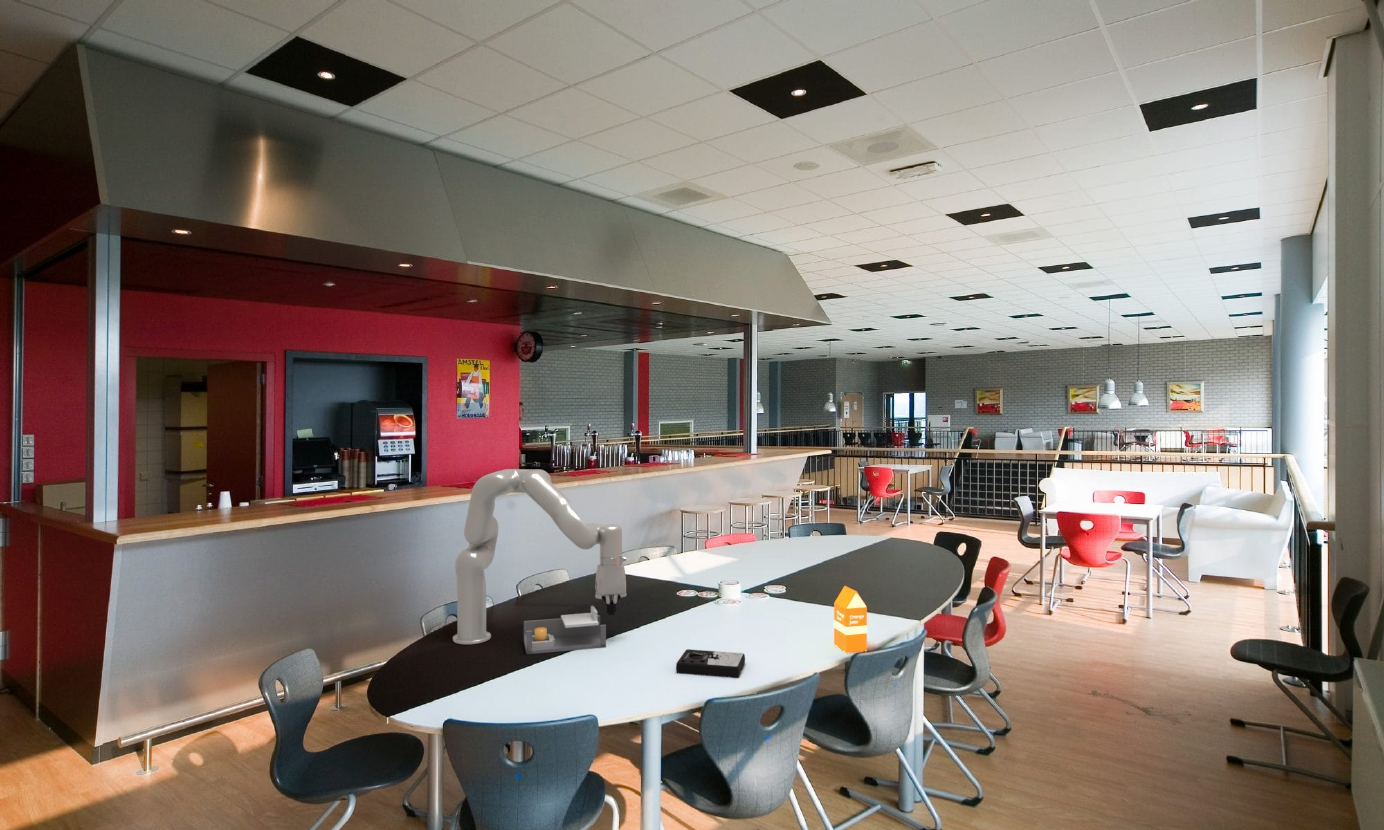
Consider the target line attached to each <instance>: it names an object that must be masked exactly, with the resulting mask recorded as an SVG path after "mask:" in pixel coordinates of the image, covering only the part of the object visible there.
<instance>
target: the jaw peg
mask: <svg viewBox="0 0 1384 830" xmlns="http://www.w3.org/2000/svg"><path fill="white" fill-rule="evenodd" d="M537 641H547V628H545V627H539V628H535V642H537Z"/></svg>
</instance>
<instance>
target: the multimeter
mask: <svg viewBox="0 0 1384 830" xmlns="http://www.w3.org/2000/svg"><path fill="white" fill-rule="evenodd" d="M745 663H746V655H745V653H743V652H733V651H731V652H730V651H716V650H714V651H713V650H701V649H685V650H684V652H683V653H682V655H681V656H680V658H679V659H678V660H677V661H676V663H675V664H676V665H675V669H676V671H675V672H676V674H682V675H693V676H696V675H697V676H706V677H707V676H708V677H709V676H710V677H719V678H732V679H733V678H734V679H738V678H739V677H740V675H741V674H742V670H743V668H744V666H745V665H746V664H745Z"/></svg>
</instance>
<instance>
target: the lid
mask: <svg viewBox="0 0 1384 830" xmlns="http://www.w3.org/2000/svg"><path fill="white" fill-rule="evenodd" d="M597 615H598V610H597V608H596V607H595V606H594V605H591V606H590V612H583V613H573V614H571V613H570V614H561V615H560V618H561V619H562V621H563V623H564V626H565V628H569V627H581V626H593V625H599V623H598V621H597Z"/></svg>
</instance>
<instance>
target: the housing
mask: <svg viewBox="0 0 1384 830" xmlns="http://www.w3.org/2000/svg"><path fill="white" fill-rule="evenodd" d="M597 621H598V623H599V625H593V626H581V627H569V628H565V626H564V623H563V621H562V619H561V617H560V618H548V619H536V620H535V619H534V620H523V644H524V649H525V654H526V655H533V654H546V653H555V652H565V651H578V650H588V649H589V650H590V649H601V648H607V624H601V615H599V614H597ZM539 627H545V628H547V641H537V642H535V628H539Z"/></svg>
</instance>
